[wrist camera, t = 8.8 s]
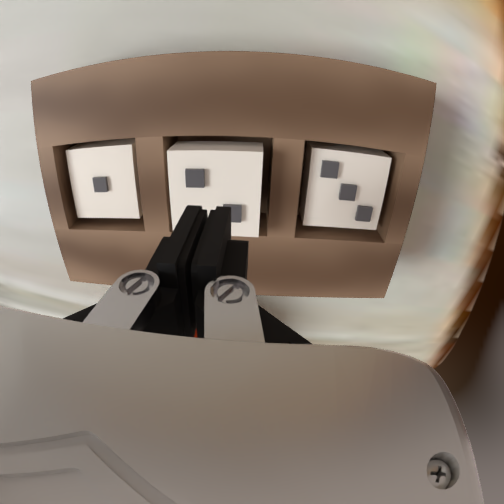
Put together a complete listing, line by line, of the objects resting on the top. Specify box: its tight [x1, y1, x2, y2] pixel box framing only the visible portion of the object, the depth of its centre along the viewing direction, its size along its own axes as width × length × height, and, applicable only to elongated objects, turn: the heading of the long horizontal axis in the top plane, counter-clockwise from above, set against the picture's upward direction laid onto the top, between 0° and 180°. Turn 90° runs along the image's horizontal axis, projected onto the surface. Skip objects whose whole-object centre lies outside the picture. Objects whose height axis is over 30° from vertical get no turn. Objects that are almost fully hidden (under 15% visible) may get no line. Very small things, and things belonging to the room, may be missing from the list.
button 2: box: [167, 141, 263, 237], centre depth 16 cm, size 4×4×2 cm
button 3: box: [299, 140, 392, 230], centre depth 17 cm, size 4×4×2 cm
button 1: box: [66, 138, 143, 219], centre depth 17 cm, size 4×4×2 cm
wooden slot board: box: [31, 51, 436, 298], centre depth 18 cm, size 14×22×5 cm, turn 88°
